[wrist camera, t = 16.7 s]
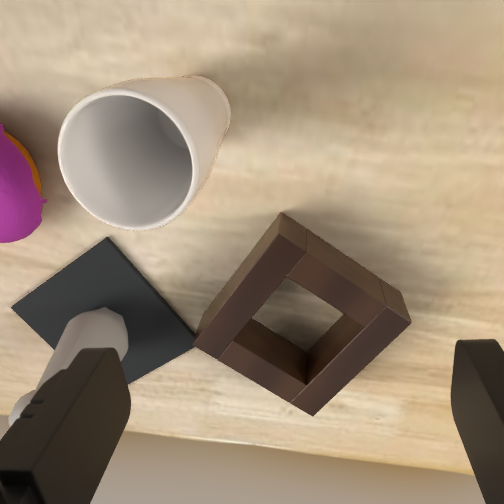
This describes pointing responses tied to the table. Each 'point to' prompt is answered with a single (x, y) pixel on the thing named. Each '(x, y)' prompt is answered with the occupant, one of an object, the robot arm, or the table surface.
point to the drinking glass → (143, 148)
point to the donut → (18, 190)
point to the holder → (322, 285)
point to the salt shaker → (81, 345)
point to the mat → (114, 298)
